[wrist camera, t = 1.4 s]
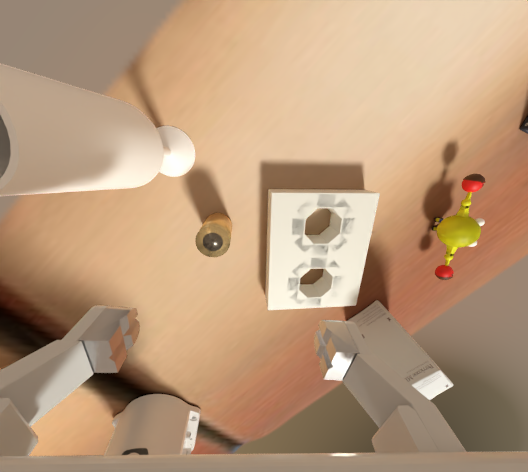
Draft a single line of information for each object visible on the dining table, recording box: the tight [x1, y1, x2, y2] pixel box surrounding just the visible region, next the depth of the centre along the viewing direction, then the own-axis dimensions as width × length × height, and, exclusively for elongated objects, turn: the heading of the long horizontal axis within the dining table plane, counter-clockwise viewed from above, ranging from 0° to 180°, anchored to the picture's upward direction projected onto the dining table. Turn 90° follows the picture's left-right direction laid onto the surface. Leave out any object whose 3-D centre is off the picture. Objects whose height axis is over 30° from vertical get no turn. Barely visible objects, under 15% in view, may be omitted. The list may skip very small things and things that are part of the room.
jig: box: [265, 189, 380, 310], centre depth 35 cm, size 20×16×4 cm
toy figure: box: [432, 174, 485, 280], centre depth 34 cm, size 18×6×7 cm, turn 1°
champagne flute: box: [0, 63, 195, 196], centre depth 18 cm, size 7×7×24 cm
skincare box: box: [347, 300, 453, 400], centre depth 37 cm, size 8×6×15 cm
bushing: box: [196, 213, 232, 257], centre depth 30 cm, size 4×4×7 cm
